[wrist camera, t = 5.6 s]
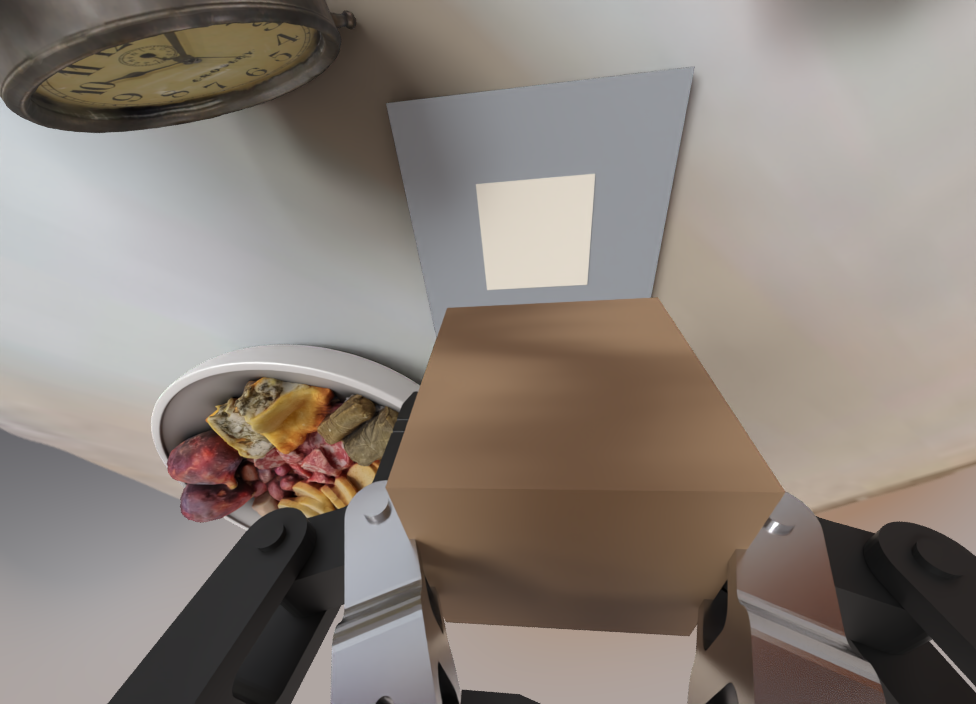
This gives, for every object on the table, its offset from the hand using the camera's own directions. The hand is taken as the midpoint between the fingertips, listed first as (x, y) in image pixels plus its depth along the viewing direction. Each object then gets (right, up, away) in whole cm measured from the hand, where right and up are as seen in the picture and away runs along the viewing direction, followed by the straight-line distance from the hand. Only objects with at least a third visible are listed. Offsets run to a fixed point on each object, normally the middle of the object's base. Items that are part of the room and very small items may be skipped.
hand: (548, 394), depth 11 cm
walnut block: (0, 0, 0) cm, 1 cm away
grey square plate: (+1, +9, +12) cm, 15 cm away
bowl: (-17, -8, +27) cm, 33 cm away
